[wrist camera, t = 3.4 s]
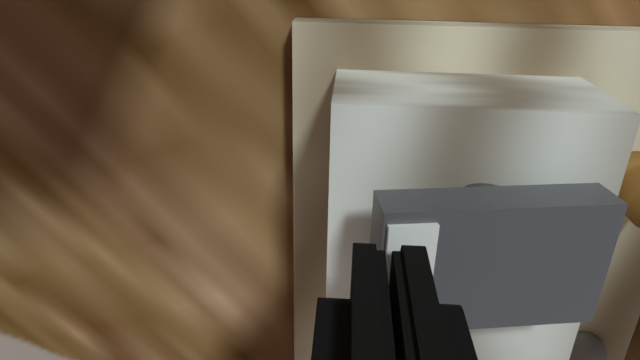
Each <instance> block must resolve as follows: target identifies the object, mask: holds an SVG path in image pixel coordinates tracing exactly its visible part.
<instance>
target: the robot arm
mask: <svg viewBox="0 0 640 360" xmlns="http://www.w3.org/2000/svg"><path fill="white" fill-rule="evenodd" d="M311 360H478V358H477V355H476V351H475V348H474V345H473V341H472V338H471V334H470V331H469V328H468V324H467V321H466V317H465V314H464V311H463V308H462V306H461V305H455V304H439V300H438V296H437V292H436V287H435V283H434V279H433V274H432V270H431V266H430V261H429V257H428V253H427V249H426V246H413V245H401V249H400V251H392V255H391V265H390V276H389V283H388V273H387V263H386V253H385V250H377V247H376V244H371V243H353V248H352V267H351V287H350V299H342V298H323V297H318V299H317V306H316V316H315V325H314V335H313V344H312V354H311Z"/></svg>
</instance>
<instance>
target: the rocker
mask: <svg viewBox="0 0 640 360" xmlns="http://www.w3.org/2000/svg"><path fill="white" fill-rule="evenodd" d="M628 205H629V204H628V203H626V202H625V201H624V200H622V199H621V198H619V197H618V196H617V195H615V194H614V193H612V192H611V191H610V190H608V189H607V188H606V187H604V186H603V185H601V184H600V183H574V184H543V185H513V186H498V185H493V184H487V183H475V184H469V185H467V186H465V187H453V188H423V189H392V190H374V191H373V206H372V220H371V235H370V243H371V244H376V247H377V250H385V253H386V263H387V273H388V283H389V276H390V265H391V255H392V251H400V249H401V245H413V246H426V249H427V253H428V257H429V261H430V266H431V270H432V274H433V279H434V283H435V287H436V292H437V296H438V300H439V304H455V305H461V306H462V308H463V311H464V314H465V317H466V321H467V324H468V328H469V329H483V328H499V327H515V326H531V325H547V324H562V323H578V322H592V320H593V317H594V314H595V311H596V307H597V304H598V301H599V298H600V295H601V291H602V288H603V285H604V282H605V279H606V275H607V272H608V269H609V266H610V262H611V259H612V256H613V253H614V250H615V246H616V243H617V240H618V237H619V234H620V230H621V227H622V224H623V221H624V217H625V214H626V211H627V208H628Z"/></svg>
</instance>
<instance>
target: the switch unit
mask: <svg viewBox="0 0 640 360" xmlns="http://www.w3.org/2000/svg"><path fill="white" fill-rule="evenodd" d="M292 96H293V254H294V360H311V354H312V344H313V335H314V325H315V316H316V306H317V299H318V297H323V298H342V299H350V287H351V267H352V248H353V243H370V235H371V220H372V206H373V191H374V190H392V189H423V188H453V187H465V186H467V185H469V184H475V183H487V184H493V185H498V186H513V185H543V184H574V183H600V184H601V185H603V186H604V187H606V188H607V189H608V190H610V191H611V192H612V193H614V194H615V195H617V196H618V197H619V198H621V199H622V200H624V201H625V202H626V203H628V204H629V205H628V208H627V211H626V214H625V217H624V221H623V224H622V227H621V230H620V234H619V237H618V240H617V243H616V246H615V250H614V253H613V256H612V259H611V262H610V266H609V269H608V272H607V275H606V279H605V282H604V285H603V288H602V291H601V295H600V298H599V301H598V304H597V307H596V311H595V314H594V317H593V320H592V322H578V323H562V324H547V325H531V326H515V327H499V328H483V329H469V331H470V334H471V338H472V341H473V345H474V348H475V351H476V355H477V358H478V360H624V358H625V355H626V353H627V350H628V347H629V344H630V342H631V339H632V336H633V333H634V330H635V328H636V325H637V322H638V319H639V317H640V27H631V26H594V25H557V24H520V23H483V22H446V21H409V20H372V19H335V18H298V17H295V19H294V20H293V21H292Z"/></svg>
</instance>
